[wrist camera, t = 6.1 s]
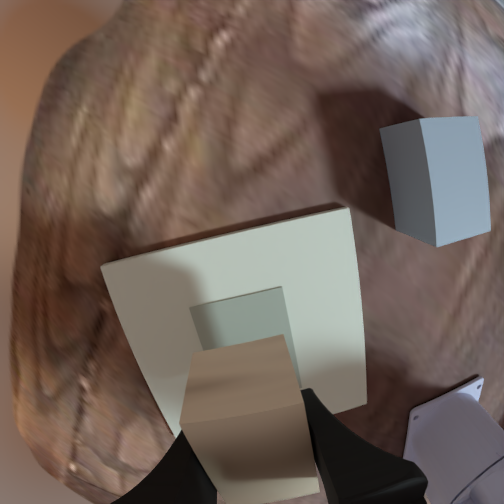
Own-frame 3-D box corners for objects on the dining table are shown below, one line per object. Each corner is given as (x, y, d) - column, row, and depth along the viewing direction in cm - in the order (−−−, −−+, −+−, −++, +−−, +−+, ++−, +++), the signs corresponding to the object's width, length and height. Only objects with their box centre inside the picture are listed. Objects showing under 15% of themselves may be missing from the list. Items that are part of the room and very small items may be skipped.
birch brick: (302, 426, 15) (319, 492, 10) (228, 440, 15) (228, 507, 10) (283, 333, 13) (303, 402, 9) (192, 352, 13) (178, 424, 9)
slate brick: (445, 217, 17) (490, 230, 13) (394, 229, 18) (436, 247, 13) (431, 123, 16) (477, 116, 12) (378, 128, 16) (419, 118, 12)
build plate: (364, 398, 20) (367, 404, 20) (179, 437, 20) (178, 443, 20) (345, 206, 17) (349, 208, 16) (103, 263, 17) (99, 267, 16)
